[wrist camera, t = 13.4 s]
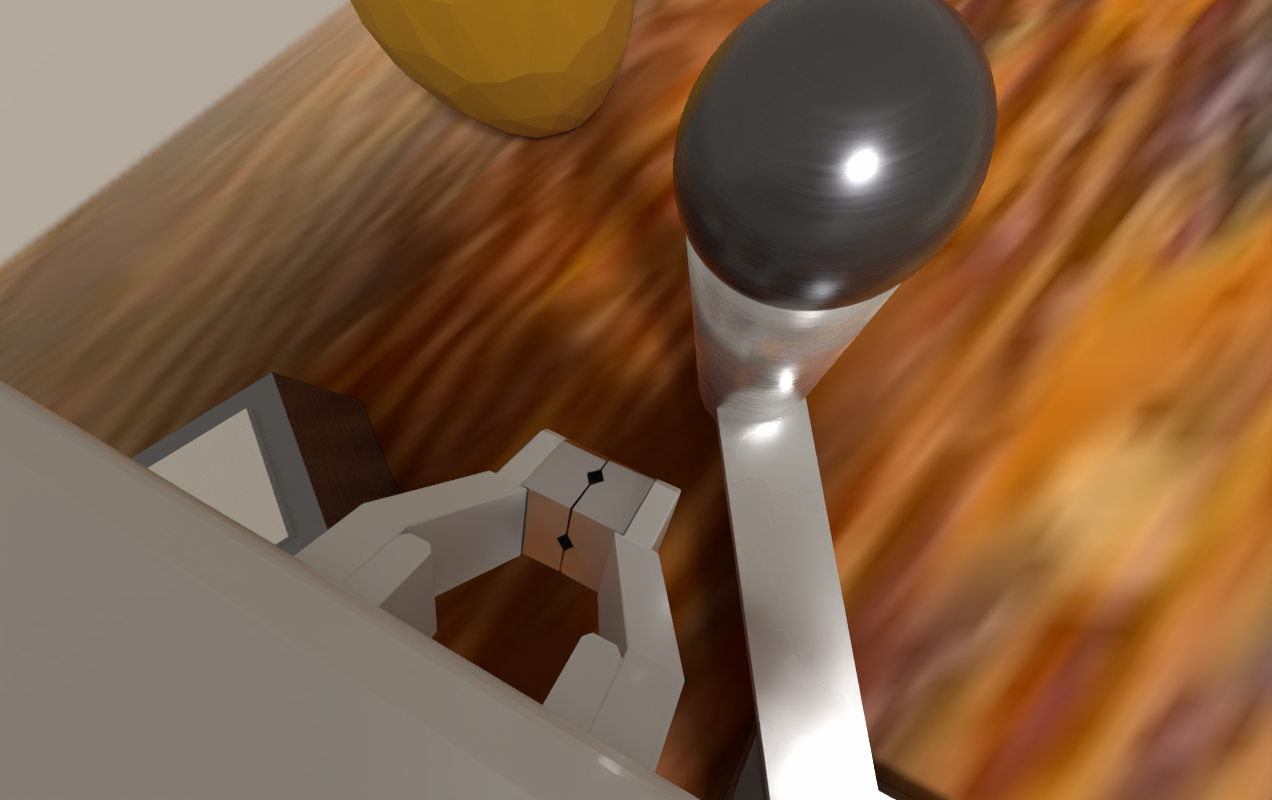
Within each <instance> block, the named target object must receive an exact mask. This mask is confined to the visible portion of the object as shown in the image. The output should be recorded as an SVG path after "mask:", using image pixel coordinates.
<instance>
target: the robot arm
mask: <svg viewBox="0 0 1272 800" xmlns="http://www.w3.org/2000/svg"><path fill="white" fill-rule="evenodd" d="M680 493H681V490H680V489H679V488H677V487H675V486H672V485H670V484H668V483H665V482H663V481H661V480H658V479H656V478H653V477H651V476H649V475H647V474H644V473H642V472H640V471H638V470H635V469H633V468H631V467H629V466H626V465H624V464H622V463H620V462H617V461H615V460H611V459H610V458H608V457H606V456H604V455H602V454H600V453H598V452H596V451H594V450H591V449H589V448H587V447H585V446H583V445H581V444H579V443H577V442H575V441H573V440H571V439H569V438H568V439H567V438H565V437H563V436H561V435H559V434H557V433H555V432H553V431H551V430H549V429H545V430H542V431H540V432H539V433H538V434H537V435H536V436H535V437H534V438H533V439H532V440H531V441H530V442H529V443H528V444H526V445H525V446H524V447H523V448H522V449H521V450H520V451H519V452H518V453H517V454H516V455H515V456H514V457H513V458H512V459H511V460H510V461H509V462H508V463H507V464H505V465H504V466H503V467H502V468H501V469H500V470H499V471H498V472H497V473H494V472H492V471H486V472H482V473H479V474H475V475H471V476H467V477H463V478H459V479H456V480H452V481H448V482H444V483H440V484H436V485H433V486H429V487H425V488H421V489H417V490H413V491H410V492H406V493H402V494H398V495H394V496H390V497H387V498H383V499H379V500H375V501H371V502H367V503H364V504H362V505H360V506H359V507H358V508H356V509H355V510H354V511H352V512H351V513H350V514H349V515H347V516H346V517H345V518H343V519H342V520H341V521H339V522H338V523H337V524H335V525H334V526H333V527H331V528H330V529H329V530H327V531H326V532H325V533H324V534H322V535H321V536H320V537H318V538H317V539H316V540H314V541H313V542H312V543H310V544H309V545H308V546H306V547H305V548H304V549H302V550H301V551H300V552H299V553H297V554H296V555H295V556H293V555H292V554H290V553H288V552H287V551H285V550H283V549H281V548H280V547H278V546H276V545H275V544H273V543H271V542H270V541H268V540H266V539H265V538H263V537H261V536H260V535H258V534H256V533H255V532H253V531H251V530H250V529H248V528H246V527H245V526H243V525H241V524H240V523H238V522H236V521H235V520H233V519H231V518H230V517H228V516H226V515H225V514H223V513H221V512H220V511H218V510H216V509H215V508H213V507H211V506H210V505H208V504H206V503H205V502H203V501H201V500H200V499H198V498H196V497H195V496H193V495H191V494H190V493H188V492H186V491H185V490H183V489H181V488H180V487H178V486H176V485H175V484H173V483H171V482H170V481H168V480H166V479H165V478H163V477H161V476H160V475H158V474H156V473H155V472H153V471H151V470H150V469H148V468H146V467H145V466H143V465H141V464H140V463H138V462H136V461H135V460H133V459H131V458H130V457H128V456H126V455H125V454H123V453H121V452H120V451H118V450H116V449H115V448H113V447H111V446H110V445H108V444H106V443H105V442H103V441H101V440H100V439H98V438H96V437H95V436H93V435H91V434H90V433H88V432H86V431H85V430H83V429H81V428H80V427H78V426H76V425H75V424H73V423H71V422H70V421H68V420H66V419H65V418H63V417H61V416H60V415H58V414H56V413H55V412H53V411H51V410H50V409H48V408H46V407H45V406H43V405H41V404H40V403H38V402H36V401H35V400H33V399H31V398H30V397H28V396H26V395H25V394H23V393H21V392H20V391H18V390H16V389H15V388H13V387H11V386H10V385H8V384H6V383H5V382H3V381H1V380H0V800H700V799H698V798H696V797H695V796H693V795H691V794H690V793H688V792H686V791H685V790H683V789H681V788H680V787H678V786H676V785H675V784H673V783H671V782H670V781H668V780H666V779H665V778H663V777H661V776H660V775H658V774H656V773H655V771H656V768H657V765H658V762H659V759H660V756H661V753H662V749H663V746H664V743H665V740H666V737H667V734H668V731H669V728H670V725H671V722H672V719H673V715H674V712H675V709H676V706H677V703H678V700H679V697H680V694H681V691H682V688H683V684H684V681H685V680H684V675H683V670H682V665H681V660H680V656H679V651H678V646H677V641H676V636H675V631H674V626H673V622H672V617H671V612H670V607H669V602H668V597H667V593H666V588H665V583H664V578H663V573H662V568H661V563H660V559H659V554H658V550H659V548H660V545H661V543H662V541H663V538H664V536H665V533H666V531H667V528H668V526H669V523H670V520H671V518H672V515H673V512H674V510H675V507H676V504H677V502H678V499H679V496H680ZM521 553H523V554H525V555H527V556H529V557H531V558H533V559H535V560H537V561H539V562H541V563H543V564H545V565H547V566H549V567H551V568H553V569H555V570H558V571H559V570H560V569H561V568H562V569H561V573H563V574H565V575H567V576H568V577H570V578H572V579H574V580H576V581H577V582H579V583H581V584H583V585H585V586H586V587H588V588H590V589H592V590H593V591H595V592H597V593H598V617H599V636H598V635H596V634H594V633H590V634H587V635H584V636H582V637H581V639H580V641H579V642H578V644H577V646H576V648H575V649H574V651H573V653H572V655H571V656H570V658H569V660H568V662H567V663H566V665H565V667H564V669H563V670H562V672H561V674H560V676H559V677H558V679H557V681H556V683H555V684H554V686H553V688H552V690H551V691H550V693H549V695H548V697H547V698H546V700H545V702H544V704H543V705H542V704H540V703H538V702H537V701H535V700H533V699H532V698H530V697H528V696H527V695H525V694H523V693H522V692H520V691H518V690H517V689H515V688H513V687H512V686H510V685H508V684H507V683H505V682H503V681H502V680H500V679H498V678H497V677H495V676H493V675H492V674H490V673H488V672H487V671H485V670H483V669H482V668H480V667H478V666H477V665H475V664H473V663H472V662H470V661H468V660H467V659H465V658H463V657H462V656H460V655H458V654H457V653H455V652H453V651H452V650H450V649H448V648H447V647H445V646H443V645H442V644H440V643H438V642H437V641H435V640H433V639H432V637H433V636H434V634H435V633H436V632H437V619H436V606H435V596H437V595H439V594H442V593H444V592H446V591H448V590H450V589H452V588H454V587H456V586H458V585H460V584H462V583H464V582H466V581H468V580H470V579H472V578H474V577H477V576H479V575H481V574H483V573H485V572H487V571H489V570H491V569H493V568H495V567H497V566H499V565H501V564H503V563H505V562H507V561H509V560H512V559H514V558H516V557H518V556H520V554H521Z"/></svg>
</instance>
